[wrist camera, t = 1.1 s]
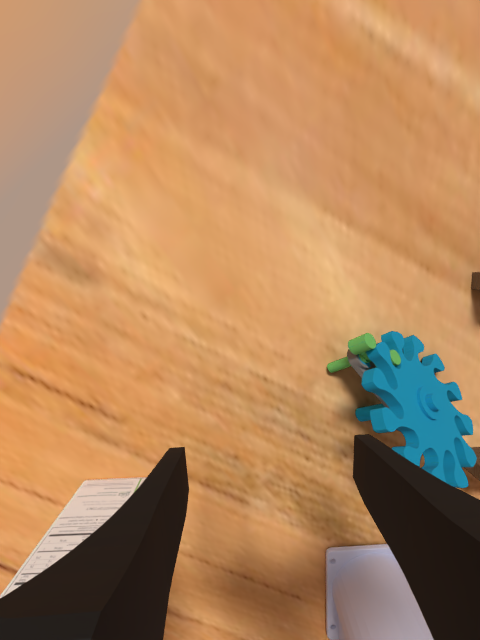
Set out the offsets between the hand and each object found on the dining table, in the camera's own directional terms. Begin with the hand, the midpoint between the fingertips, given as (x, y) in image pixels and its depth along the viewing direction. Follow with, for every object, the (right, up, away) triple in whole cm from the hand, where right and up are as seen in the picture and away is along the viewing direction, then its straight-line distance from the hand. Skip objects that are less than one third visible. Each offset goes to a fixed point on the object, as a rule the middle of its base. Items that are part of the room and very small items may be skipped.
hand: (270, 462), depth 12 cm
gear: (+10, +1, +11) cm, 15 cm away
